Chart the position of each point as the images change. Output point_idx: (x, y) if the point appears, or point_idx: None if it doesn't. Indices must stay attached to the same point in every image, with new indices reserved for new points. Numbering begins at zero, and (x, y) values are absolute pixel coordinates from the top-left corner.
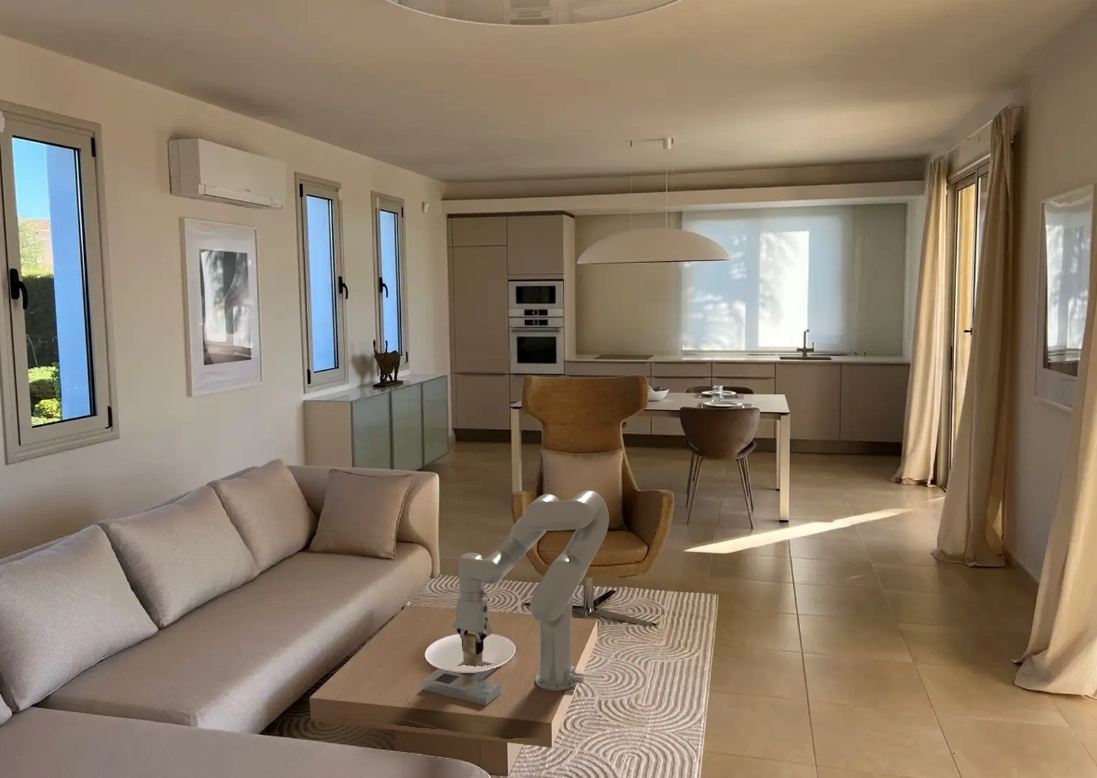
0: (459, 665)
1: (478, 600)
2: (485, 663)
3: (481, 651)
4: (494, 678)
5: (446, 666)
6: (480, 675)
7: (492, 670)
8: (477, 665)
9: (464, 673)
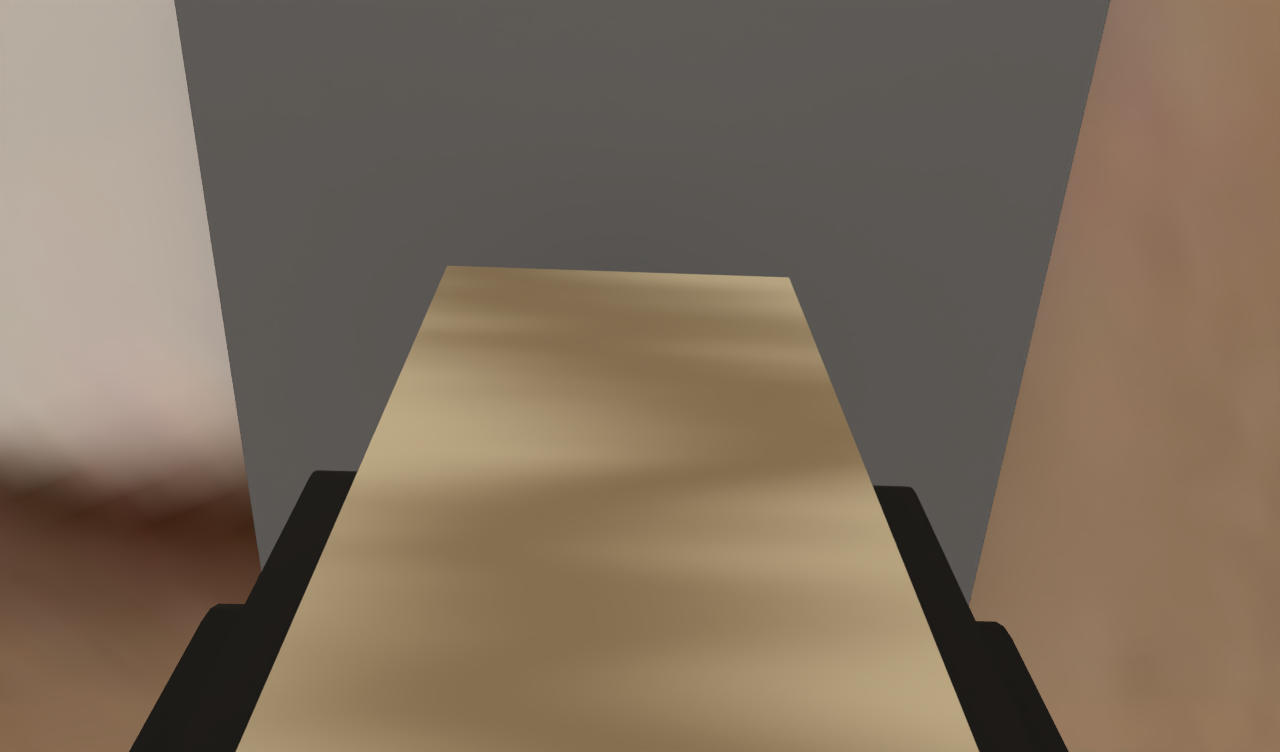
0: (258, 320)
1: None
2: (731, 3)
3: None
4: (1118, 405)
5: (3, 336)
6: None
7: (1026, 252)
8: (608, 172)
9: None
